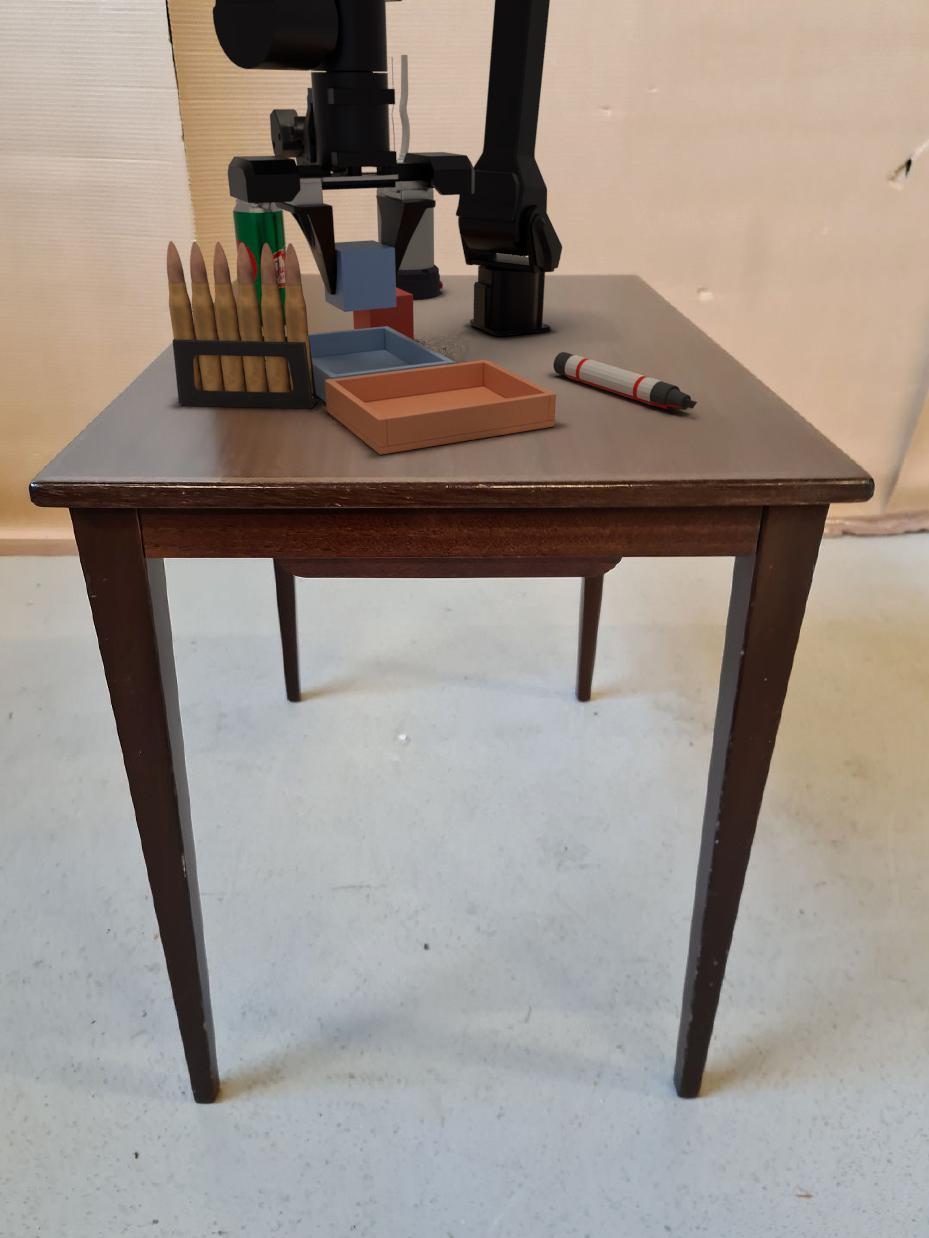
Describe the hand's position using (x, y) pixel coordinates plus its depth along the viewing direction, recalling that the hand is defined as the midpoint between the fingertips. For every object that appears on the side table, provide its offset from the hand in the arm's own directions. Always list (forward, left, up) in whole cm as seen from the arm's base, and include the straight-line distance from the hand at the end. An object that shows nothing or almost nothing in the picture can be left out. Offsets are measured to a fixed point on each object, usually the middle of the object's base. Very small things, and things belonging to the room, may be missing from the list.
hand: (359, 291), depth 75 cm
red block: (-7, -12, -7) cm, 16 cm away
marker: (-18, +14, -7) cm, 24 cm away
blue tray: (0, 0, -7) cm, 7 cm away
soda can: (+1, -25, -7) cm, 26 cm away
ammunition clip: (+11, +3, -7) cm, 14 cm away
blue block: (0, 0, -1) cm, 1 cm away
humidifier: (-19, -33, -7) cm, 39 cm away
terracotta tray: (-1, +13, -7) cm, 15 cm away
